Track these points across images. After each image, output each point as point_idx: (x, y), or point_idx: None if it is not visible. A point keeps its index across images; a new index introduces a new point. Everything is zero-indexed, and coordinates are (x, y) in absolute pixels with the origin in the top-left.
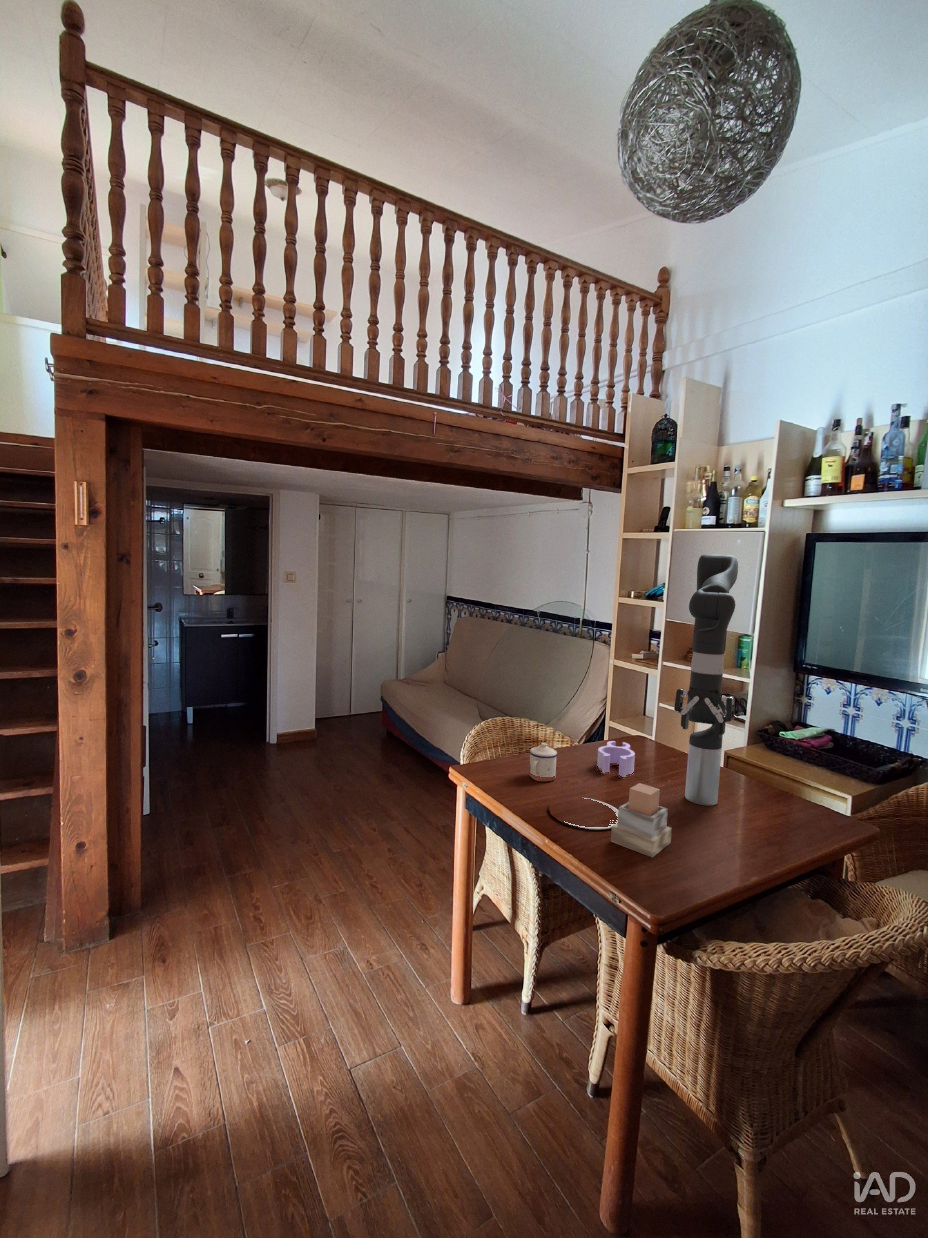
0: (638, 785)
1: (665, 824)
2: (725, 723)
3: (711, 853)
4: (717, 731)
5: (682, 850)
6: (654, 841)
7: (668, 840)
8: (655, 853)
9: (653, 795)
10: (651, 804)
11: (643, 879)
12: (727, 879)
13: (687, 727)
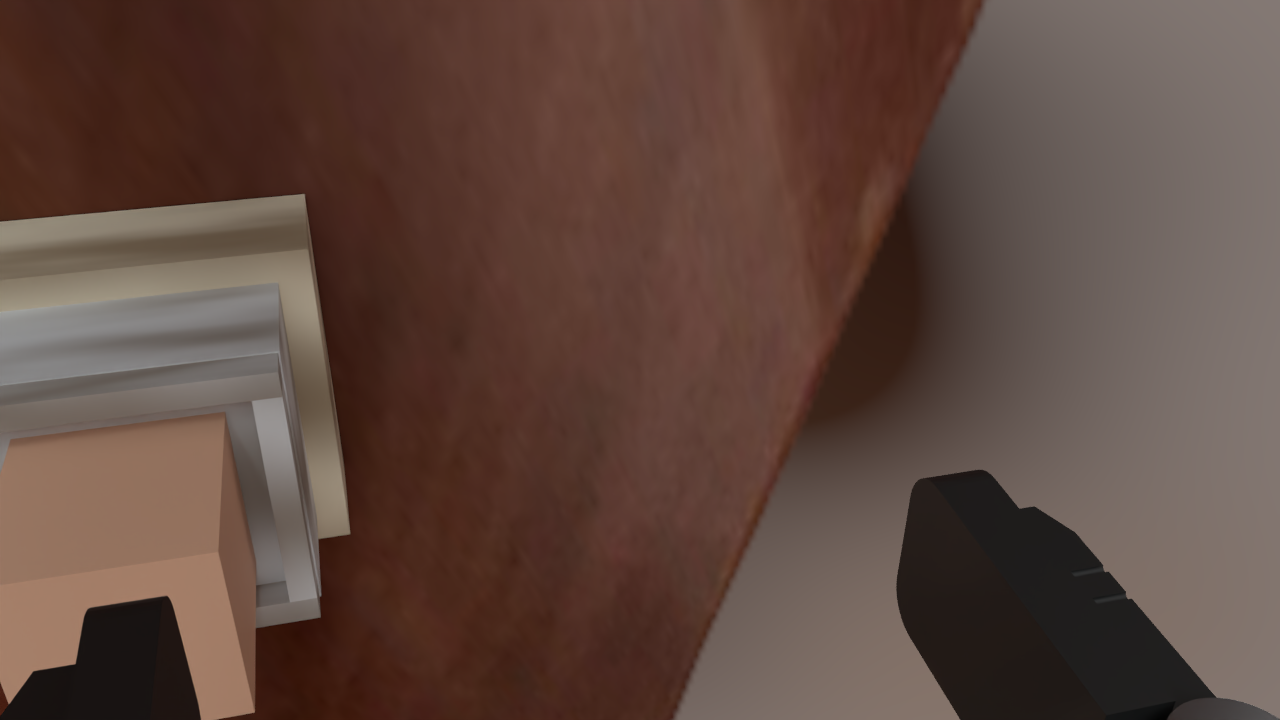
0: (14, 643)
1: (282, 322)
2: (1211, 696)
3: (584, 101)
4: (958, 689)
5: (421, 227)
6: (348, 520)
7: (312, 256)
8: (339, 436)
9: (244, 648)
10: (249, 614)
11: (441, 661)
12: (760, 335)
13: (174, 650)
